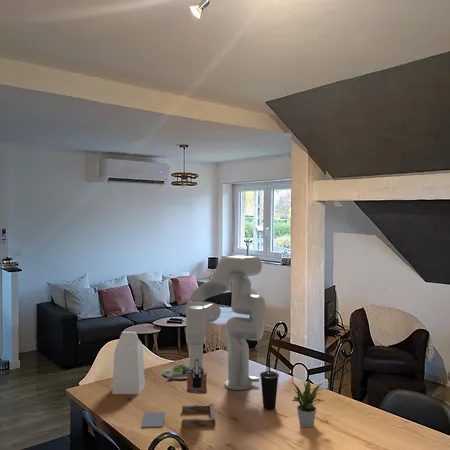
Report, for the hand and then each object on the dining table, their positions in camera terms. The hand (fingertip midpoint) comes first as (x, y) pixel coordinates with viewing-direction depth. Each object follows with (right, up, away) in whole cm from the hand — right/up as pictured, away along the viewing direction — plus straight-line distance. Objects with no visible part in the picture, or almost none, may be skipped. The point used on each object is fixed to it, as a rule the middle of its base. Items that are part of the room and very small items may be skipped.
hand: (196, 384), depth 174 cm
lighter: (0, -3, 0) cm, 3 cm away
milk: (-33, -13, +30) cm, 46 cm away
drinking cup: (+29, -13, +10) cm, 33 cm away
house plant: (+42, -13, -6) cm, 45 cm away
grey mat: (-17, -13, -2) cm, 21 cm away
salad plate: (-10, -13, +50) cm, 52 cm away
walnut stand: (0, -13, 0) cm, 13 cm away
